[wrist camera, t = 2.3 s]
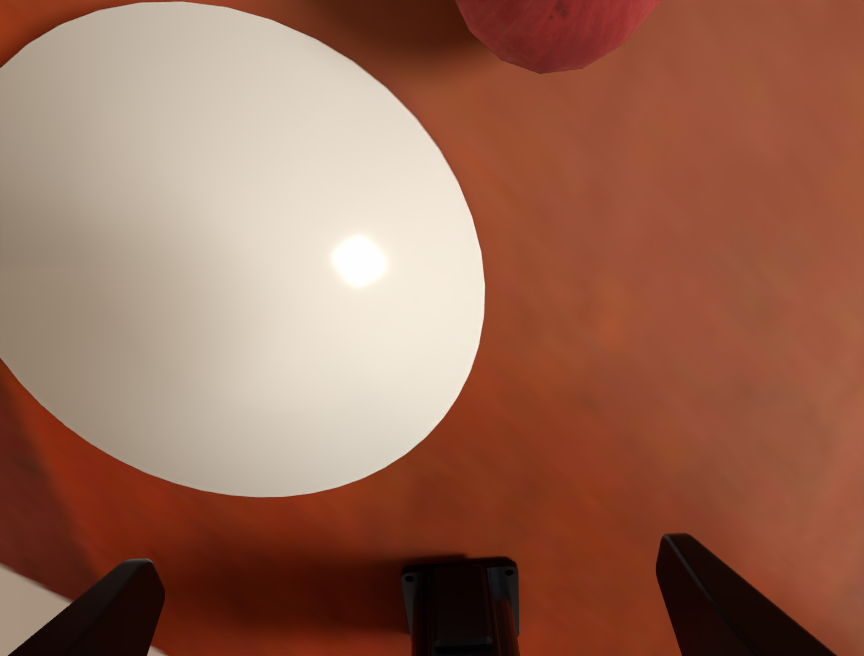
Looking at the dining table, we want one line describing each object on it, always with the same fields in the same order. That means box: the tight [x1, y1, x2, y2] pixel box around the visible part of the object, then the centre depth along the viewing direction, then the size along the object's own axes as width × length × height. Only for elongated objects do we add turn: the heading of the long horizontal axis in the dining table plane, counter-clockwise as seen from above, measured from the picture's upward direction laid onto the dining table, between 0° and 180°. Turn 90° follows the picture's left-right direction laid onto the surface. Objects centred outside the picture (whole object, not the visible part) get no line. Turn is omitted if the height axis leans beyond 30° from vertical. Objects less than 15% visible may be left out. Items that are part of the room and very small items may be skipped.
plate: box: [0, 2, 485, 497], centre depth 20 cm, size 20×20×1 cm
